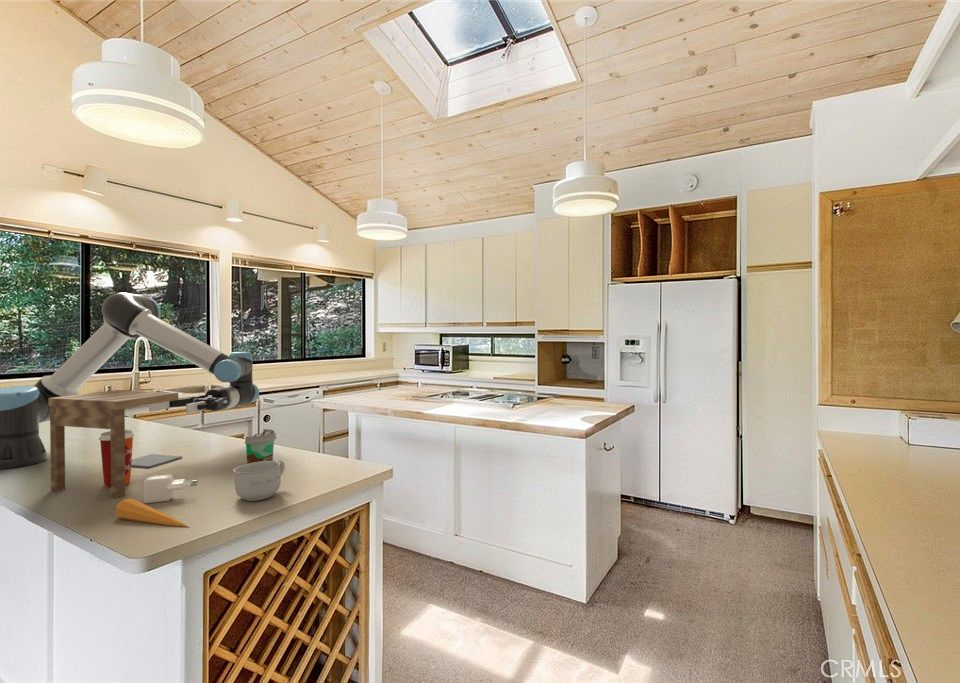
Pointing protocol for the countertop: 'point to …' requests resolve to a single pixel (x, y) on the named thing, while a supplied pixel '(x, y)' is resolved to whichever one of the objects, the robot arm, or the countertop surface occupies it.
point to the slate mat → (153, 460)
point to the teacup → (258, 479)
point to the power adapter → (163, 487)
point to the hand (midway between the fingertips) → (168, 408)
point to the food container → (260, 446)
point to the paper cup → (106, 456)
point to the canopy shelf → (101, 414)
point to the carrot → (143, 513)
